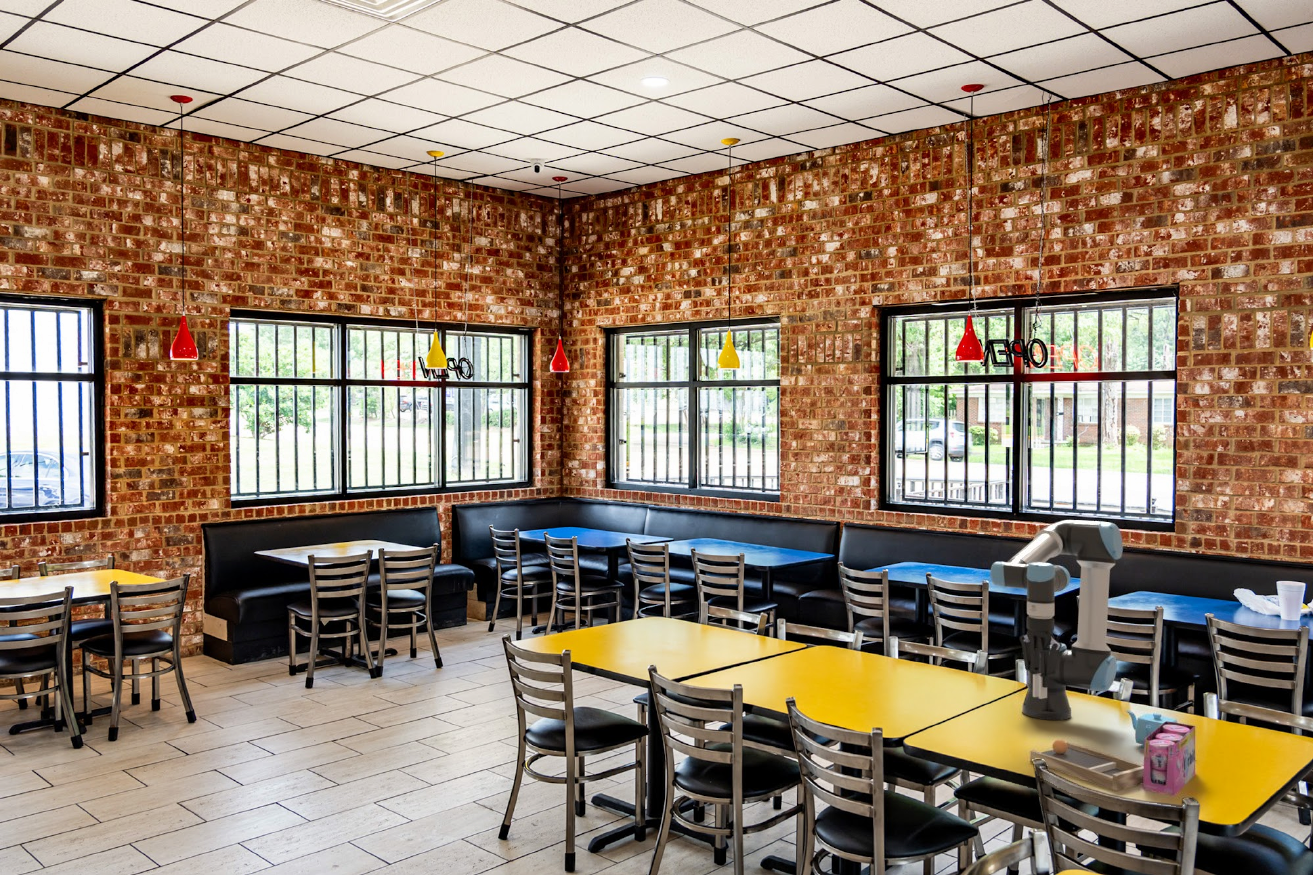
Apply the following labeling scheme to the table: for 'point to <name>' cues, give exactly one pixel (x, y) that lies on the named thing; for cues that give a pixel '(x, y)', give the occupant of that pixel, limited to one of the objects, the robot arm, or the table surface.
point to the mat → (1086, 761)
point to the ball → (1060, 746)
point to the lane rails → (1116, 782)
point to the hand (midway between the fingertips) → (1039, 696)
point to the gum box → (1169, 758)
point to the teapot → (1147, 725)
